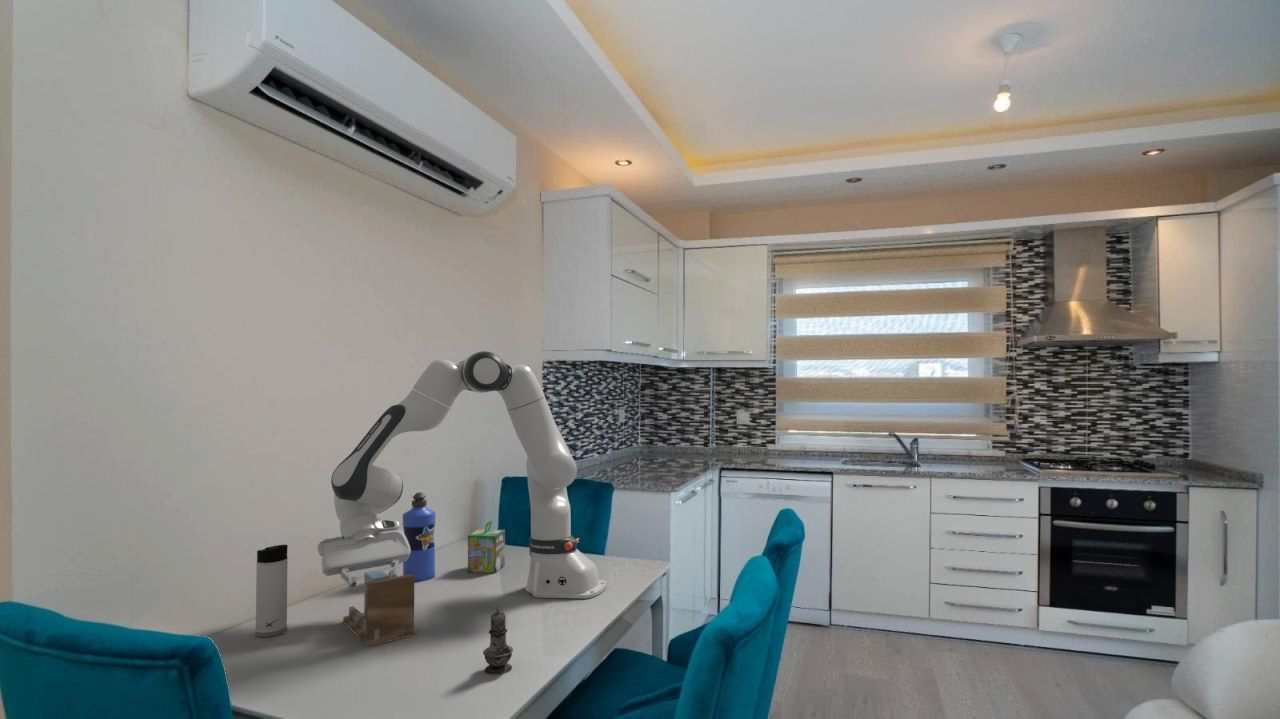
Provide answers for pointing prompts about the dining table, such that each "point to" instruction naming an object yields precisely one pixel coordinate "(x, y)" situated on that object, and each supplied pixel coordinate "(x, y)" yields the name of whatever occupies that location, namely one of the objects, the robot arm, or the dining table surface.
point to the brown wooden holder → (385, 611)
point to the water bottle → (420, 540)
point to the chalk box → (486, 550)
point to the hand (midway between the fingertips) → (373, 581)
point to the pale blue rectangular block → (369, 578)
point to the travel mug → (271, 591)
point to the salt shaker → (498, 646)
